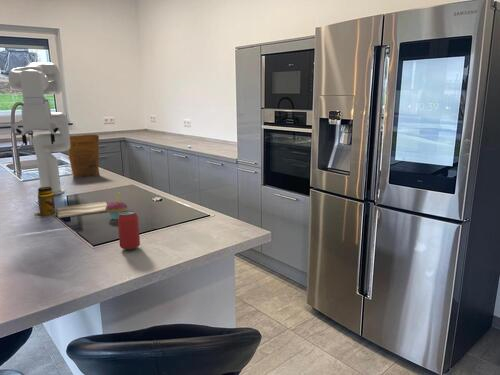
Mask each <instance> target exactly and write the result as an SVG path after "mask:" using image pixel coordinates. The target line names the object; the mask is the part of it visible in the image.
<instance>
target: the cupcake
mask: <svg viewBox="0 0 500 375" xmlns="http://www.w3.org/2000/svg"><path fill="white" fill-rule="evenodd" d="M116 199H117V200H116V201H112V202H109V203H108V204H107V206H106V211H107V212H106V213H108V214H109V216H110V218H111V219H112V220H117V221H118V216H119V213H120V212H122V211H126V210H127V209H128V205H127V204H126V203H125V202H123V201H121V200H120V191H118V192H117V198H116Z"/></svg>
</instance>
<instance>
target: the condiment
mask: <svg viewBox="0 0 500 375" xmlns="http://www.w3.org/2000/svg"><path fill="white" fill-rule="evenodd" d="M38 193H39V194H38ZM54 196H55V195H53V193H52V188H51V187H42V188H41V187H40V188H38V189H37V200H38V208H39V212H36V213H34V219H38V218H39V219H40V218H46V217H53V216H58V213H57V211H56V206H55V197H54ZM56 213H57V214H56Z"/></svg>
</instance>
